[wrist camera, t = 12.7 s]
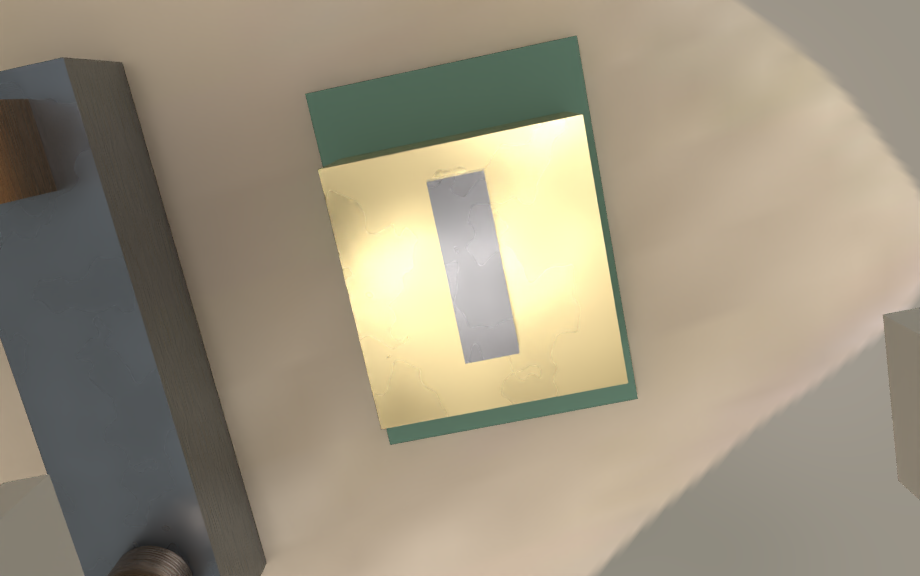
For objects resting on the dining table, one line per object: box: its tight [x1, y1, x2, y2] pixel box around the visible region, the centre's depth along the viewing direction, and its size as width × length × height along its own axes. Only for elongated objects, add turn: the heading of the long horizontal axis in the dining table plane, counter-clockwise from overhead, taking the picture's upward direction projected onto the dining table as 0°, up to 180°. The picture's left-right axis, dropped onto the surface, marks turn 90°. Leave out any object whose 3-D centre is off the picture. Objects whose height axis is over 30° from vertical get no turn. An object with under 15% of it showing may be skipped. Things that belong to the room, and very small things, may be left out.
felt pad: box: [305, 36, 638, 445], centre depth 32 cm, size 14×10×1 cm
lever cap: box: [318, 111, 628, 429], centre depth 29 cm, size 9×8×5 cm
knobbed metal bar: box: [0, 58, 266, 576], centre depth 28 cm, size 21×5×10 cm, turn 12°
